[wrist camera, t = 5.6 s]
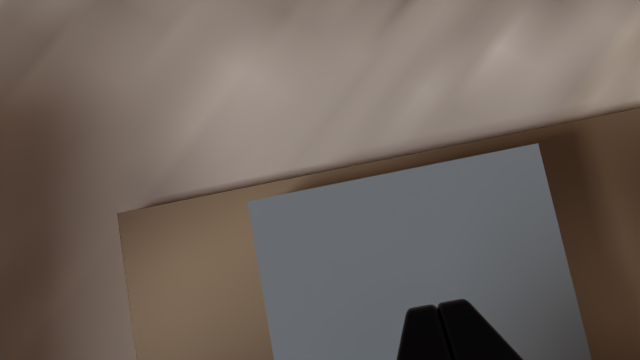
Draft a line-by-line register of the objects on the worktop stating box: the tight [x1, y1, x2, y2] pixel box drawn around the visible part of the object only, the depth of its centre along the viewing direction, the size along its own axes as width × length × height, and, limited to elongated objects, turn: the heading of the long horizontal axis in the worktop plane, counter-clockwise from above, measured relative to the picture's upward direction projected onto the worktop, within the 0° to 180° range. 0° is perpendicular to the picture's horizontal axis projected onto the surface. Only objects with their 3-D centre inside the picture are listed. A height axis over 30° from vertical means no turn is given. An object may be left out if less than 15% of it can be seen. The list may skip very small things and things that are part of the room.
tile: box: [247, 143, 592, 360], centre depth 14 cm, size 2×7×8 cm
